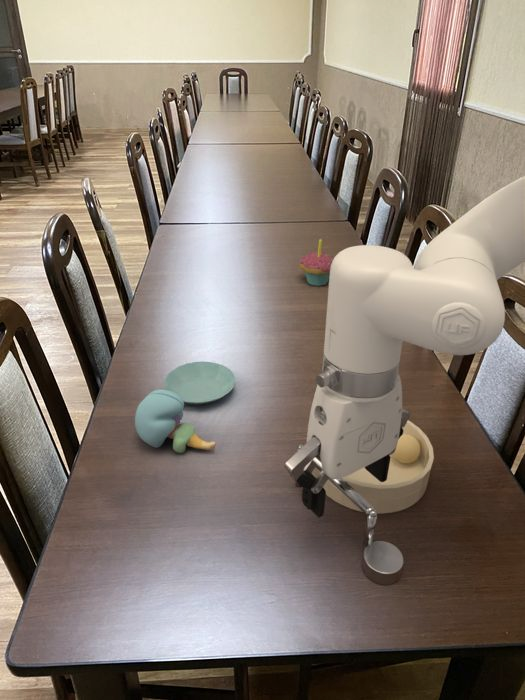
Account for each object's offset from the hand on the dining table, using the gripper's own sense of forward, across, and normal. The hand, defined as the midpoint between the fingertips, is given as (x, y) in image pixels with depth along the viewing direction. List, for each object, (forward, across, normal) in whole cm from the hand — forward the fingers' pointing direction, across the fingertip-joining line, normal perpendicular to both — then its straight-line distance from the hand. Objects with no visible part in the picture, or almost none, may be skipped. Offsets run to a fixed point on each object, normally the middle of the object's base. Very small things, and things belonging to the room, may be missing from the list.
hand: (345, 491), depth 63 cm
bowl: (+6, +10, +6) cm, 13 cm away
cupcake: (+6, +44, +60) cm, 74 cm away
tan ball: (+2, +15, +4) cm, 15 cm away
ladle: (+6, 0, 0) cm, 6 cm away
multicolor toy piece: (+6, -10, +25) cm, 27 cm away
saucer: (+6, -1, +35) cm, 35 cm away
